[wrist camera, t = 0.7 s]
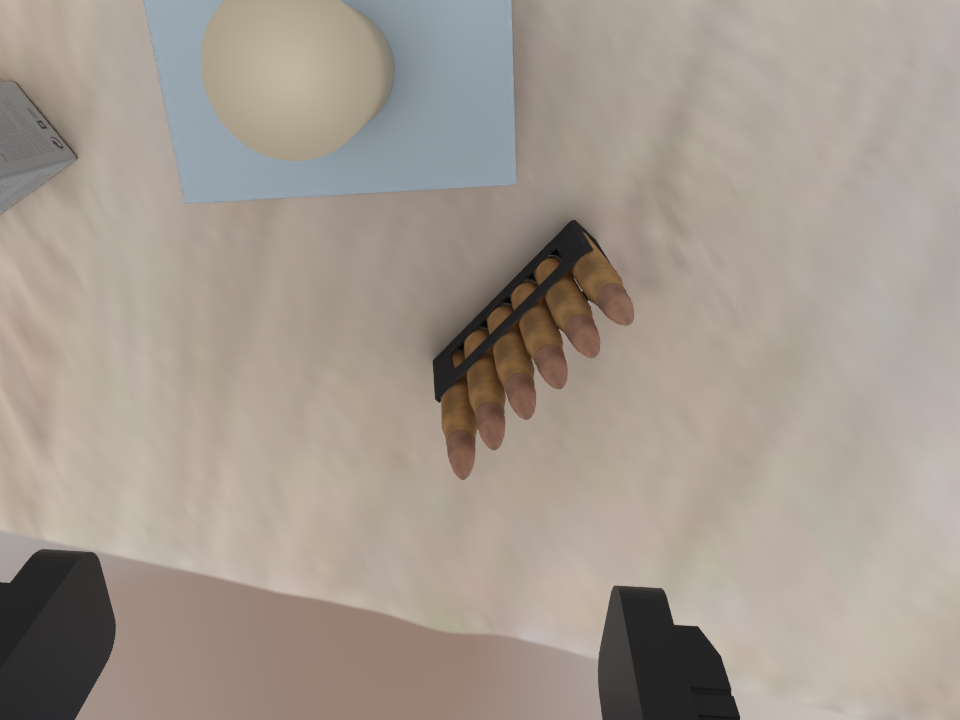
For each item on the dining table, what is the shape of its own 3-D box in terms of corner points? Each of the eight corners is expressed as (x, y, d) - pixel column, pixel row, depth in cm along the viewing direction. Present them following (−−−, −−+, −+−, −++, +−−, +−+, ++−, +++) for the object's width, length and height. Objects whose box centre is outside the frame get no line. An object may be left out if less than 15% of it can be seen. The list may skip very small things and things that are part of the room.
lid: (506, -79, 27) (547, -160, 17) (514, 181, 31) (551, 241, 21) (140, -63, 27) (-41, -135, 17) (192, 199, 31) (70, 269, 20)
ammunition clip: (573, 218, 37) (631, 286, 26) (598, 242, 37) (665, 320, 26) (431, 361, 39) (429, 480, 28) (456, 382, 40) (463, 506, 29)
